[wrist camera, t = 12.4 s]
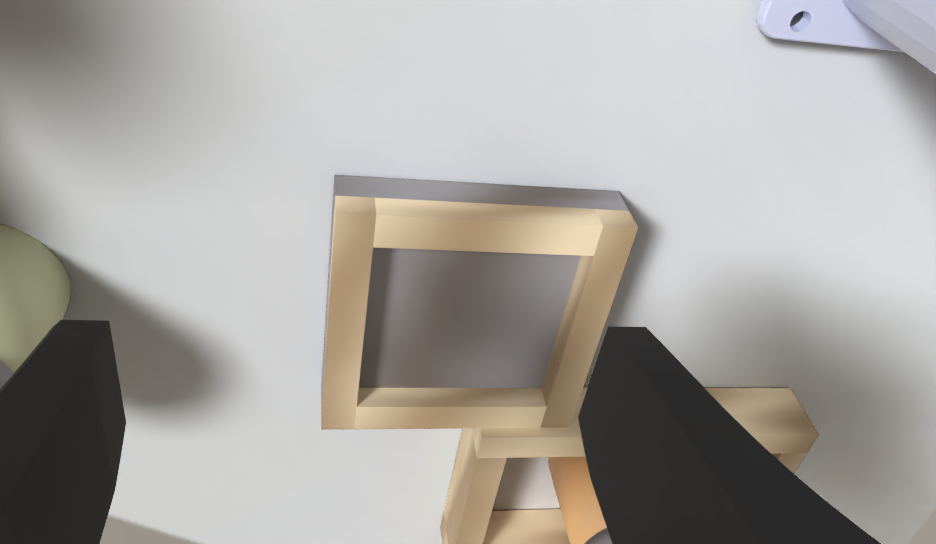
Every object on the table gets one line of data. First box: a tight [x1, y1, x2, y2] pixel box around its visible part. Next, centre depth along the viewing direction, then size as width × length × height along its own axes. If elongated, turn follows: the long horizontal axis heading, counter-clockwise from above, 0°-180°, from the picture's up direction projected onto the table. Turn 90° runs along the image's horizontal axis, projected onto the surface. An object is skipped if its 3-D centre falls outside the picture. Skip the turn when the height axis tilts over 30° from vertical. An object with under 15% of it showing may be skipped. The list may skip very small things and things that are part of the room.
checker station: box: [321, 175, 819, 544], centre depth 27 cm, size 17×16×2 cm
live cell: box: [548, 457, 612, 544], centre depth 28 cm, size 4×4×5 cm
